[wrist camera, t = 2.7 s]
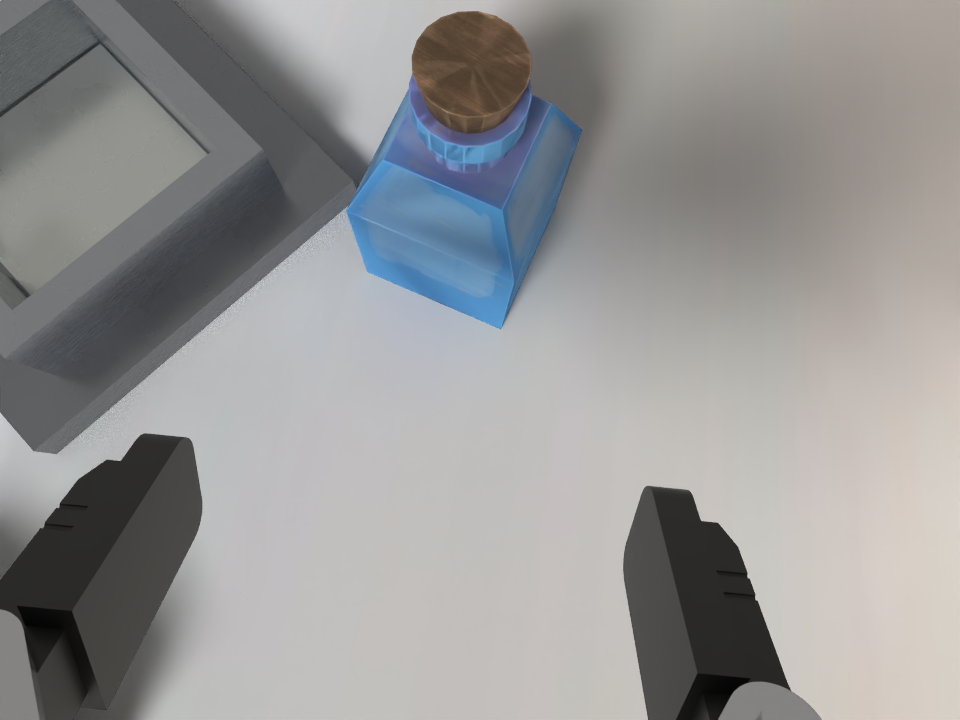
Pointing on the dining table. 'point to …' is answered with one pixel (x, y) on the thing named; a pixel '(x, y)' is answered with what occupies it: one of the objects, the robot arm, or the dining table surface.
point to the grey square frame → (132, 200)
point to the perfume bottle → (464, 171)
